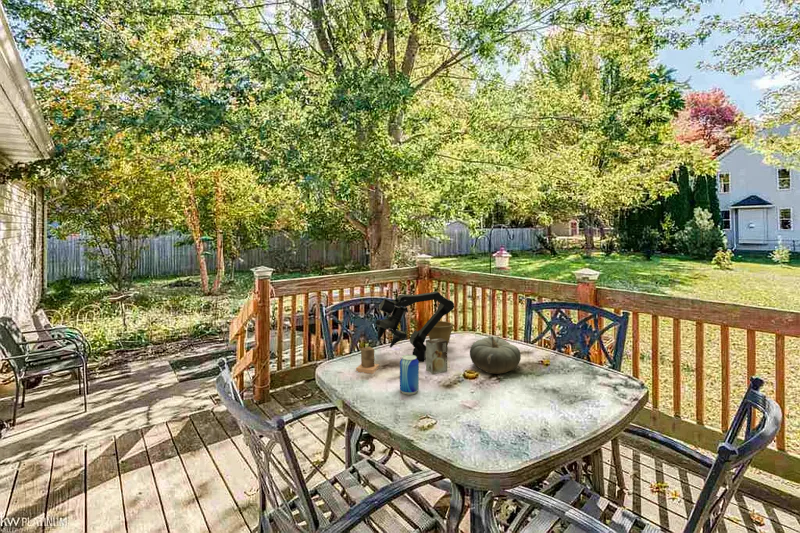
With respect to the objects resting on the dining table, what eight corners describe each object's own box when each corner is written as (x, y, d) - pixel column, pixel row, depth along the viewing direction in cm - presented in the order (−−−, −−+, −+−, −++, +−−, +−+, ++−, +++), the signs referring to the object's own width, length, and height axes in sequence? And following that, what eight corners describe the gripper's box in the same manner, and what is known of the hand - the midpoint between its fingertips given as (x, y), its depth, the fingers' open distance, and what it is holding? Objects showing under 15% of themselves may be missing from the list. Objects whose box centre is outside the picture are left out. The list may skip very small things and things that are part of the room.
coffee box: (440, 367, 217) (441, 337, 215) (447, 371, 211) (447, 340, 209) (425, 370, 212) (425, 339, 211) (432, 374, 207) (432, 343, 205)
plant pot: (456, 348, 247) (456, 322, 245) (444, 355, 235) (445, 328, 233) (433, 344, 255) (434, 319, 253) (422, 351, 243) (422, 324, 241)
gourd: (487, 352, 233) (491, 323, 228) (527, 370, 216) (532, 340, 211) (460, 367, 216) (463, 337, 211) (501, 388, 199) (505, 356, 194)
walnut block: (370, 363, 217) (369, 346, 216) (374, 366, 212) (374, 349, 211) (361, 365, 214) (361, 348, 213) (365, 368, 210) (365, 350, 209)
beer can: (412, 397, 180) (412, 361, 179) (396, 392, 185) (396, 358, 183) (421, 390, 188) (422, 356, 186) (406, 386, 192) (406, 352, 190)
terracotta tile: (379, 368, 216) (379, 364, 216) (372, 375, 207) (372, 370, 207) (363, 366, 219) (363, 362, 219) (356, 372, 210) (356, 368, 210)
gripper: (375, 307, 222) (363, 334, 221) (400, 321, 210) (387, 349, 210) (387, 311, 230) (375, 336, 230) (412, 324, 219) (400, 351, 219)
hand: (384, 343), depth 222 cm, fingers open, 9 cm apart
